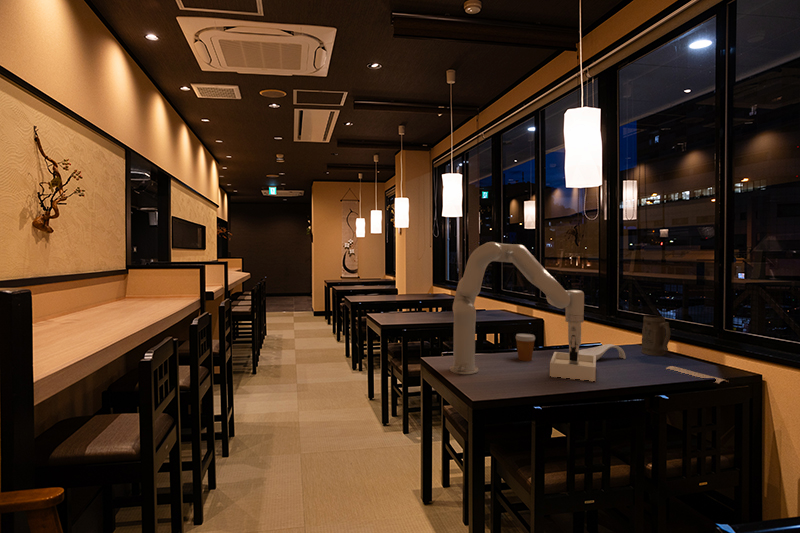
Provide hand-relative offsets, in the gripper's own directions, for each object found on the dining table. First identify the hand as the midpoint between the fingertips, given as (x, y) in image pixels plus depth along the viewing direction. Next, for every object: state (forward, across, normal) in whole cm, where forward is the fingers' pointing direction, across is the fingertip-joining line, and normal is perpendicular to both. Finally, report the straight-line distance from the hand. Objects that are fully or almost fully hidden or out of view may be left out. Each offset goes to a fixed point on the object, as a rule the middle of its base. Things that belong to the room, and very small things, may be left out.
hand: (573, 359), depth 203 cm
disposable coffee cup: (+6, +15, +23) cm, 28 cm away
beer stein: (+6, +53, -38) cm, 66 cm away
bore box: (+6, 0, 0) cm, 6 cm away
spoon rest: (+7, +32, -11) cm, 34 cm away
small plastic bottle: (+2, 0, 0) cm, 2 cm away
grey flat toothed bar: (+7, +17, -49) cm, 53 cm away
